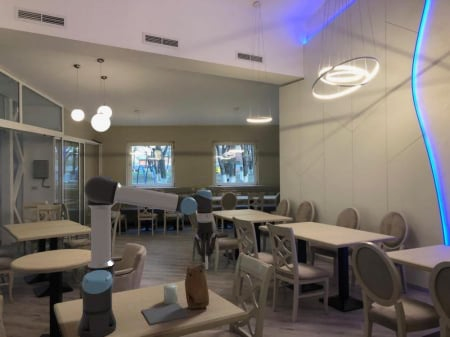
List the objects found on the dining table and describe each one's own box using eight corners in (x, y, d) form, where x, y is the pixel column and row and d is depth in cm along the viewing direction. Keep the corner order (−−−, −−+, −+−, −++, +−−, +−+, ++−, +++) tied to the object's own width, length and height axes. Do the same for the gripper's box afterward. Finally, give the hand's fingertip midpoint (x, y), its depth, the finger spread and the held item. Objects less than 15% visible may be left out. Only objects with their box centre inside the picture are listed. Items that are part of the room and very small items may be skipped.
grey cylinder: (166, 305, 168) (166, 289, 168) (162, 300, 174) (161, 285, 174) (179, 302, 171) (179, 286, 171) (174, 297, 177) (174, 282, 177)
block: (208, 300, 170) (203, 261, 169) (210, 307, 163) (205, 266, 162) (186, 304, 168) (182, 265, 167) (188, 311, 161) (183, 270, 160)
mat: (150, 325, 147) (150, 323, 147) (141, 311, 161) (141, 310, 161) (189, 316, 155) (189, 315, 155) (177, 304, 169) (177, 303, 169)
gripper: (195, 223, 161) (196, 272, 161) (219, 221, 167) (220, 268, 167) (189, 221, 168) (190, 268, 168) (213, 219, 174) (214, 264, 174)
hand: (205, 268), depth 168 cm, fingers closed
